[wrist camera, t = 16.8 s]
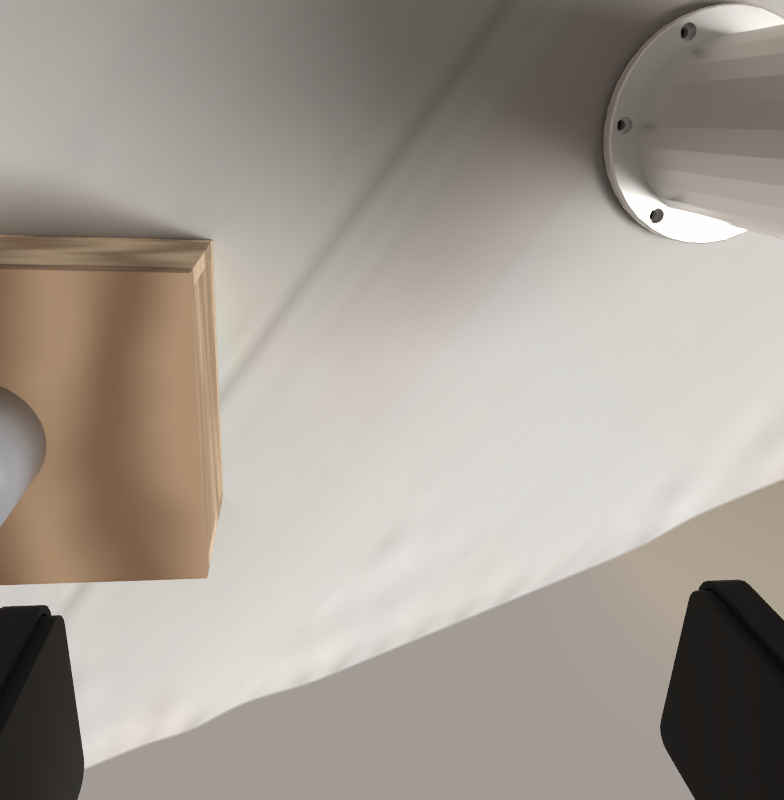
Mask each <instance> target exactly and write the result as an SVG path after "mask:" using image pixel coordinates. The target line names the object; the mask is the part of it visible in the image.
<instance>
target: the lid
mask: <svg viewBox="0 0 784 800" xmlns="http://www.w3.org/2000/svg"><path fill="white" fill-rule="evenodd" d="M0 386H2V387H4V388H6V389H8V390H10V391H11V392H13V393H14V394H16V395H17V396H19V397H20V398H21V399H22V400H24V401H25V402H26V403H27V404H28V405H29V406H30V407H31V408H32V410H33V411H34V412H35V414H36V415H37V417H38V418H39V420H40V422H41V424H42V426H43V429H44V432H45V437H46V445H47V448H46V456H45V460H44V463H43V465H42V468H41V469H40V471H39V473H38V474H37V476H36V477H35V478H34V480H33V481H32V483H31V484H30V486H29V487H28V488H27V490H26V491H25V493H24V494H23V495H22V497H21V498H20V500H19V501H18V503H17V504H16V505H15V507H14V508H13V510H12V511H11V513H10V514H9V515H8V517H7V518H6V520H5V521H4V523H3V524H2V525H1V527H0V585H20V584H50V583H80V582H110V581H140V580H170V579H200V578H207V576H208V571H209V555H208V536H207V518H206V499H205V481H204V462H203V444H202V425H201V407H200V388H199V370H198V351H197V333H196V314H195V295H194V277H193V269H192V268H145V267H98V266H51V265H3V264H0Z"/></svg>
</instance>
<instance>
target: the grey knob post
mask: <svg viewBox="0 0 784 800" xmlns="http://www.w3.org/2000/svg"><path fill="white" fill-rule="evenodd" d="M46 448H47V445H46V437H45V432H44V429H43V426H42V424H41V422H40V420H39V418H38V417H37V415H36V414H35V412H34V411H33V410H32V408H31V407H30V406H29V405H28V404H27V403H26V402H25V401H24V400H22V399H21V398H20V397H19V396H17V395H16V394H14V393H13V392H11V391H10V390H8V389H6V388H4V387H2V386H0V527H1V525H2V524H3V523H4V521H5V520H6V518H7V517H8V515H9V514H10V513H11V511H12V510H13V508H14V507H15V505H16V504H17V503H18V501H19V500H20V498H21V497H22V495H23V494H24V493H25V491H26V490H27V488H28V487H29V486H30V484H31V483H32V481H33V480H34V478H35V477H36V476H37V474H38V473H39V471H40V469H41V468H42V465H43V463H44V460H45V456H46Z"/></svg>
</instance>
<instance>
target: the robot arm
mask: <svg viewBox="0 0 784 800" xmlns="http://www.w3.org/2000/svg"><path fill="white" fill-rule="evenodd" d="M681 29H683V30H684V35H683V37H681ZM619 120H620V121H621V122H622V127H621V128H620V129H619V130H617V124H618V121H619ZM603 153H604V159H605V165H606V171H607V175H608V178H609V181H610V183H611V186H612V189H613V191H614V194H615V195H616V197H617V198H618V200H619V202H620V203H621V205H622V206H623V208H624V209H625V211H626V212H627V213H628V214H629V215H630V216H631V217H632V218H633V219H634V220H635V221H636V222H637V223H639V224H640V225H642V226H643V227H645V228H646V229H648V230H649V231H651V232H652V233H655V234H657V235H660V236H663V237H665V238H668V239H672V240H676V241H680V242H684V243H703V244H705V243H711V242H717V241H723V240H726V239H729V238H732V237H734V236H737V235H740V234H742V233H744V232H746V231H752V232H756V233H760V234H764V235H768V236H772V237H776V238H780V239H784V18H783V17H782V16H781V15H779V14H777V13H775V12H772V11H770V10H768V9H766V8H764V7H761V6H756V5H750V4H745V3H726V4H717V5H713V6H709V7H704V8H701V9H698V10H695V11H693V12H690V13H687V14H685V15H682V16H680V17H678V18H677V19H675V20H673V21H672V22H670V23H669V24H667V25H665V26H664V27H662V28H661V29H659V30H658V31H657V32H656V33H655V34H654V35H653V36H652V37H651V38H649V39H648V40H647V41H646V42H645V43H644V44H643V45H642V46H641V47H640V49H639V50H638V51H637V53H636V54H635V55H634V56H633V58H632V59H631V60H630V61H629V63H628V64H627V66H626V68H625V70H624V71H623V73H622V75H621V77H620V79H619V80H618V82H617V84H616V86H615V89H614V92H613V95H612V97H611V100H610V103H609V106H608V110H607V115H606V121H605V126H604V149H603ZM652 210H653V216H652V217H651V218H650V217H649V215H650V213H651V211H652ZM660 730H661V736H662V741H663V744H664V746H665V748H666V750H667V752H668V754H669V755H670V757H671V759H672V761H673V762H674V764H675V766H676V767H677V769H678V771H679V773H680V774H681V776H682V778H683V779H684V781H685V783H686V785H687V786H688V788H689V790H690V791H691V793H692V795H693V796H694V798H695V800H784V621H783V619H782V618H781V617H780V616H779V615H778V614H777V613H776V612H775V611H774V610H773V609H772V608H771V607H770V606H769V605H768V604H767V603H766V602H765V601H764V600H763V599H762V598H761V597H760V596H759V594H758V593H756V591H755V590H754V589H752V587H751V586H750V585H749V584H747V583H746V582H745V581H742V580H722V581H721V580H720V581H706V582H703V583H702V585H701V586H700V587H699V590H698V591H694V592H693V593H692V594H691V596H690V598H689V602H688V606H687V611H686V615H685V619H684V623H683V628H682V632H681V637H680V641H679V645H678V649H677V654H676V658H675V662H674V667H673V671H672V675H671V680H670V684H669V688H668V692H667V697H666V701H665V706H664V710H663V714H662V719H661V725H660ZM83 772H84V757H83V750H82V743H81V735H80V728H79V721H78V714H77V707H76V700H75V693H74V686H73V679H72V672H71V665H70V658H69V651H68V644H67V637H66V630H65V623H64V619H63V617H62V616H60V615H56V616H51V612H50V610H49V608H48V606H45V605H37V606H10V607H3V608H0V800H77V799H78V795H79V792H80V789H81V785H82V780H83Z"/></svg>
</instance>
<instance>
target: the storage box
mask: <svg viewBox="0 0 784 800" xmlns="http://www.w3.org/2000/svg"><path fill="white" fill-rule="evenodd" d="M0 264H3V265H51V266H98V267H145V268H192V269H193V277H194V295H195V314H196V333H197V351H198V370H199V388H200V407H201V425H202V444H203V462H204V481H205V499H206V518H207V536H208V555H209V565H210V560H211V555H212V550H213V544H214V539H215V534H216V529H217V524H218V518H219V513H220V508H221V503H222V497H223V481H222V458H221V434H220V411H219V388H218V364H217V341H216V318H215V294H214V271H213V247H212V240H191V239H153V238H115V237H77V236H39V235H1V234H0Z"/></svg>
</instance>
